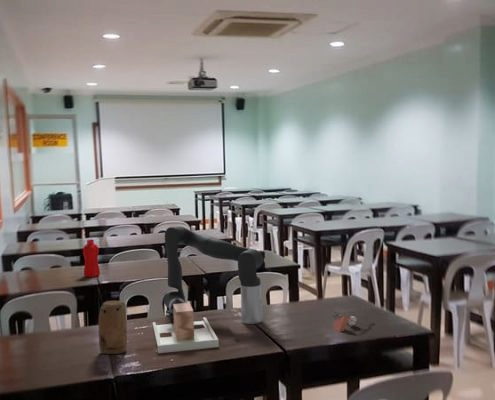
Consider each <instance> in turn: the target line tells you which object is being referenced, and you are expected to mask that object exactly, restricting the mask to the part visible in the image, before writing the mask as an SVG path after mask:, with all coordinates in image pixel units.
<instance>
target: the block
mask: <svg viewBox="0 0 495 400" xmlns="http://www.w3.org/2000/svg"><path fill="white" fill-rule="evenodd" d="M127 330H128V326H127V309H126V303H125V301H124V300H113V299H112V300H106V301H105V302H103V303H102V305H101V306H100V308H99V314H98V347H99V352H100V354H103V355H105V354H108V355H113V354H114V355H116V354H117V355H118V354H122V353H125V352H126V350H127V346H128V331H127Z"/></svg>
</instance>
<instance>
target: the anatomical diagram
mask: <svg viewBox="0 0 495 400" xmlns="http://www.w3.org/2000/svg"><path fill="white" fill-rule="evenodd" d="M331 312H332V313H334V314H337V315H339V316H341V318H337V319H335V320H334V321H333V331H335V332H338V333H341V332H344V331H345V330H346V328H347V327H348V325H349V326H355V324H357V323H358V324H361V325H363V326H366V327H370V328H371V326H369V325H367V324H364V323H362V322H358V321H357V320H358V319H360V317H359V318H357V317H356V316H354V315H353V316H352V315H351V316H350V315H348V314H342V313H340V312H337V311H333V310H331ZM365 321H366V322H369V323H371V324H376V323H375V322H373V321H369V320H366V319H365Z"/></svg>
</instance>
